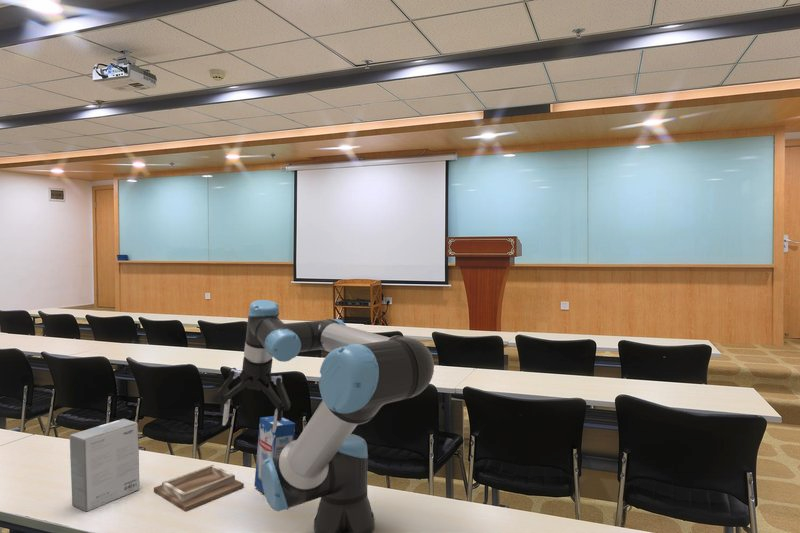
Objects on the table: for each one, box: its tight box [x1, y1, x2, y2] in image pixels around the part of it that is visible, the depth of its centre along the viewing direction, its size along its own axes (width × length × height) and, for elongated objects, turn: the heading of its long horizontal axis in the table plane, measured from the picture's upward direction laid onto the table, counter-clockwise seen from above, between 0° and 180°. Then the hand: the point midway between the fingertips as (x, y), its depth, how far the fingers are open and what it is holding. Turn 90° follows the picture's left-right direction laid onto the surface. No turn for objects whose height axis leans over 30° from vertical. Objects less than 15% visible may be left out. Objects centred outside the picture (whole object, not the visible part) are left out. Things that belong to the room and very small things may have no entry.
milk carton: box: [253, 415, 296, 494], centre depth 148 cm, size 10×6×20 cm, turn 41°
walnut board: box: [153, 464, 245, 512], centre depth 148 cm, size 18×18×3 cm
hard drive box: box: [69, 418, 141, 513], centre depth 143 cm, size 16×8×20 cm, turn 149°
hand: (249, 426), depth 140 cm, fingers open, 13 cm apart
